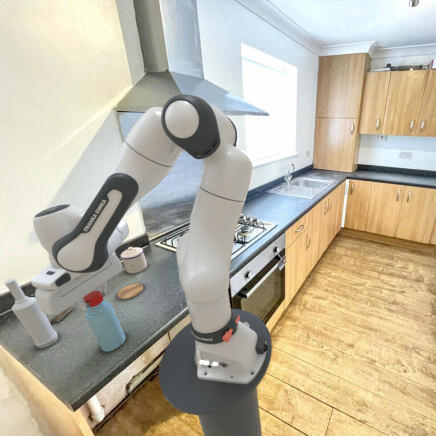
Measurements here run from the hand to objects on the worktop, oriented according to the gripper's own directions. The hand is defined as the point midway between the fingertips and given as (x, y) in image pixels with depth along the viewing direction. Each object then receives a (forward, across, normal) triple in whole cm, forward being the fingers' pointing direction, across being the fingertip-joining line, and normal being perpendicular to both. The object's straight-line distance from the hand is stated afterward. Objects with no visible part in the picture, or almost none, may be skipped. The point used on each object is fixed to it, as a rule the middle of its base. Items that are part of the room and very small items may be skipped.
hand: (94, 302), depth 69 cm
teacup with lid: (+18, -34, -25) cm, 46 cm away
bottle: (+18, +4, -21) cm, 28 cm away
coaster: (+17, -21, -14) cm, 31 cm away
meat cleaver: (+18, -2, -29) cm, 34 cm away
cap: (-2, 0, 0) cm, 2 cm away
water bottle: (+17, 0, 0) cm, 17 cm away
